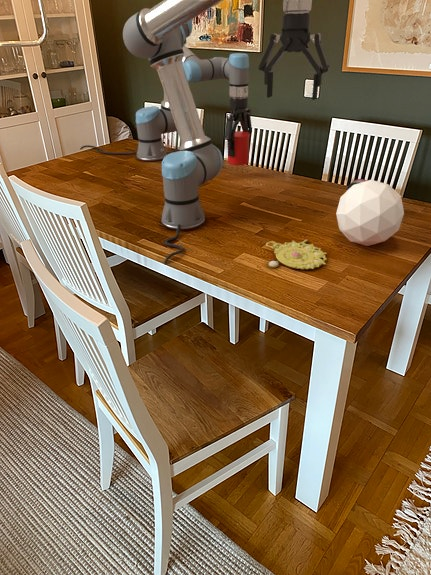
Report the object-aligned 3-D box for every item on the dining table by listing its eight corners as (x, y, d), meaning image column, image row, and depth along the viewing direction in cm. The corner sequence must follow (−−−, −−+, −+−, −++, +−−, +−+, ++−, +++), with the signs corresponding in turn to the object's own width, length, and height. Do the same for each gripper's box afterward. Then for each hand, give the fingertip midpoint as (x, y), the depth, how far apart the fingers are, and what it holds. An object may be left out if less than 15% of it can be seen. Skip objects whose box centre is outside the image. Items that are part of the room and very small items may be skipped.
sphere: (372, 267, 139) (394, 238, 121) (318, 234, 144) (331, 202, 125) (402, 223, 144) (427, 189, 125) (348, 192, 149) (365, 155, 130)
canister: (224, 160, 194) (224, 132, 187) (244, 158, 196) (244, 130, 190) (231, 166, 187) (231, 137, 180) (251, 164, 189) (252, 135, 182)
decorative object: (309, 275, 120) (249, 251, 130) (307, 282, 121) (248, 258, 131) (343, 246, 133) (286, 226, 143) (341, 253, 134) (285, 233, 145)
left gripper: (229, 102, 168) (229, 161, 180) (261, 93, 182) (259, 148, 194) (214, 100, 172) (215, 158, 184) (247, 92, 186) (246, 146, 198)
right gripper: (346, 11, 117) (337, 97, 128) (257, 13, 126) (256, 93, 137) (340, 12, 111) (331, 102, 122) (248, 14, 120) (247, 97, 132)
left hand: (238, 153), depth 189 cm, fingers closed on canister, 9 cm apart
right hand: (291, 98), depth 130 cm, fingers open, 13 cm apart
